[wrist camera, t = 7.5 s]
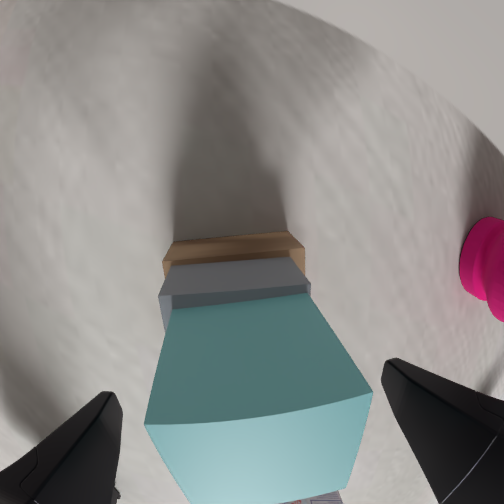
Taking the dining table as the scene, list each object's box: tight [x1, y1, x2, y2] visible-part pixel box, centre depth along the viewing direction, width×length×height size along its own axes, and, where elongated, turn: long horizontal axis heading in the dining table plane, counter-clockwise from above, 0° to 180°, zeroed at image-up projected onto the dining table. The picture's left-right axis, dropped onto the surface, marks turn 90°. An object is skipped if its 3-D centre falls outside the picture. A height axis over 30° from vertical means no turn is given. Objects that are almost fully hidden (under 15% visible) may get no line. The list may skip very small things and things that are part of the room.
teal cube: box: [144, 293, 373, 504], centre depth 8 cm, size 4×4×5 cm
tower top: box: [158, 257, 311, 334], centre depth 12 cm, size 5×5×3 cm
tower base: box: [162, 231, 305, 279], centre depth 15 cm, size 6×6×4 cm
